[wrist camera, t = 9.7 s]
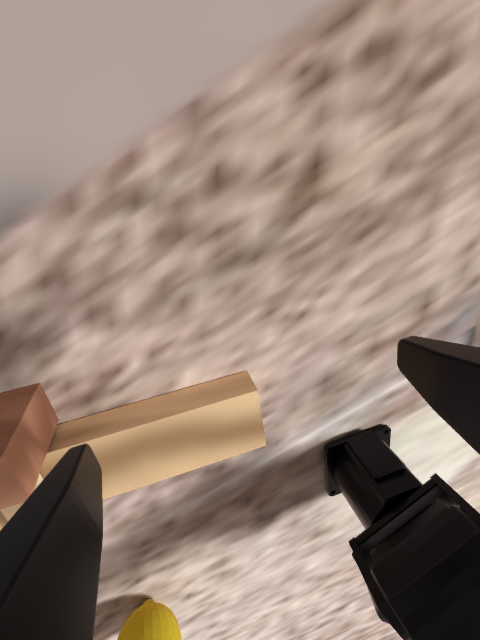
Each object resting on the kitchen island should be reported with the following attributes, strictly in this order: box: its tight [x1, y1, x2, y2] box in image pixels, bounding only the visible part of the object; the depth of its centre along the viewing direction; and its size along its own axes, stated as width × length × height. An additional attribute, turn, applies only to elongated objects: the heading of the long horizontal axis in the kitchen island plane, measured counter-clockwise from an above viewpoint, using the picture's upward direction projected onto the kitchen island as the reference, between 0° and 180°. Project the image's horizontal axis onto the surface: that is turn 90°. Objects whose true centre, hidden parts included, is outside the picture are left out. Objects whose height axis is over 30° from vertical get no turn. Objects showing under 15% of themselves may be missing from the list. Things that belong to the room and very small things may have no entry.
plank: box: [0, 371, 266, 530], centre depth 22 cm, size 5×20×2 cm, turn 99°
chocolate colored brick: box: [0, 383, 59, 521], centre depth 19 cm, size 9×4×6 cm, turn 9°
